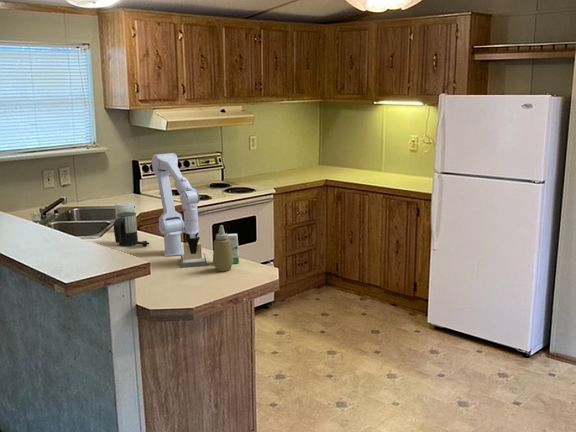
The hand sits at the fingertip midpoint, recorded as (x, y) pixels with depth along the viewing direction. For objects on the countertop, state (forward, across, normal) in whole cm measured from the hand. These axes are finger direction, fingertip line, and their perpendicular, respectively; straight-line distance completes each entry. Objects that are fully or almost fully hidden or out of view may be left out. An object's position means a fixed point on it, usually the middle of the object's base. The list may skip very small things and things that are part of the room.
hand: (193, 251), depth 261 cm
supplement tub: (+5, -72, -31) cm, 79 cm away
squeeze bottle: (+5, +15, +11) cm, 19 cm away
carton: (+3, 0, 0) cm, 3 cm away
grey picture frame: (+5, 0, 0) cm, 5 cm away
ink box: (+5, +5, +14) cm, 16 cm away
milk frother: (+5, -39, -26) cm, 47 cm away
